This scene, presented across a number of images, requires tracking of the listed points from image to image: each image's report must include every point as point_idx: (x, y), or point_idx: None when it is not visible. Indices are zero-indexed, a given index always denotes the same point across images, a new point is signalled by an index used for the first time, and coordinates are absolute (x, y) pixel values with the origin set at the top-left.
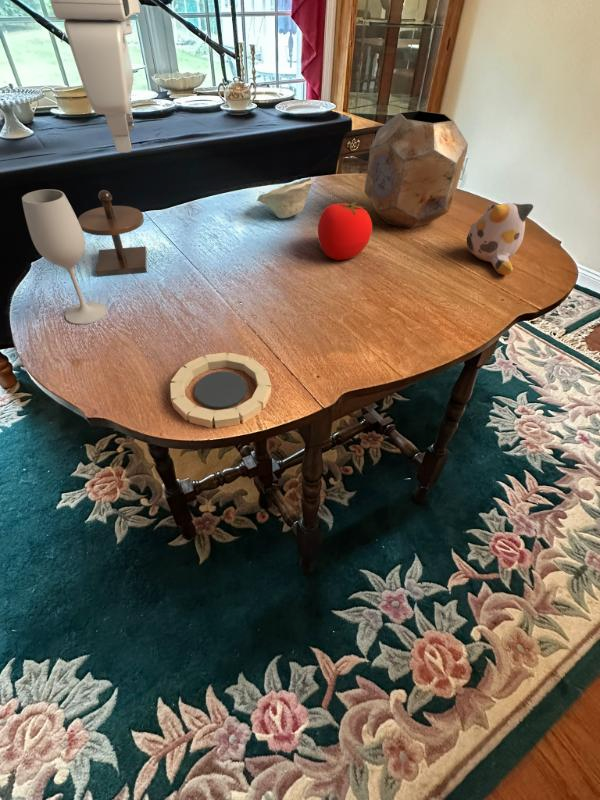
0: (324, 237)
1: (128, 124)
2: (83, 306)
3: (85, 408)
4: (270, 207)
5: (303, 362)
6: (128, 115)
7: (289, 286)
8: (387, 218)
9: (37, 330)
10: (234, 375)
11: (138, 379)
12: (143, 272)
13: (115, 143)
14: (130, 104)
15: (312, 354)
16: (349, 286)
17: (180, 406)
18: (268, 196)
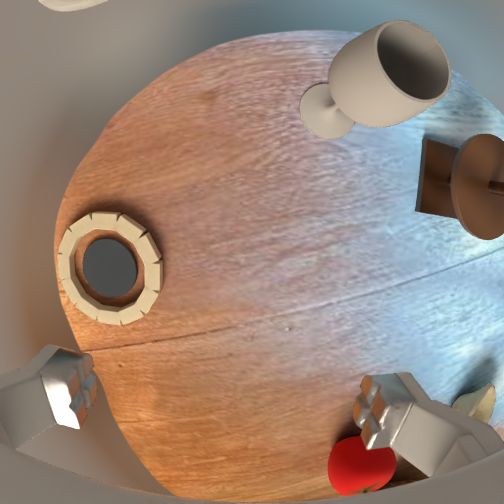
0: (351, 452)
1: (366, 414)
2: (328, 108)
3: (118, 114)
4: (471, 394)
5: (144, 362)
6: (380, 440)
7: (306, 390)
8: (384, 487)
9: (301, 50)
10: (126, 288)
11: (150, 173)
12: (416, 206)
13: (35, 357)
14: (418, 468)
15: (156, 374)
16: (280, 441)
17: (78, 222)
18: (474, 403)
